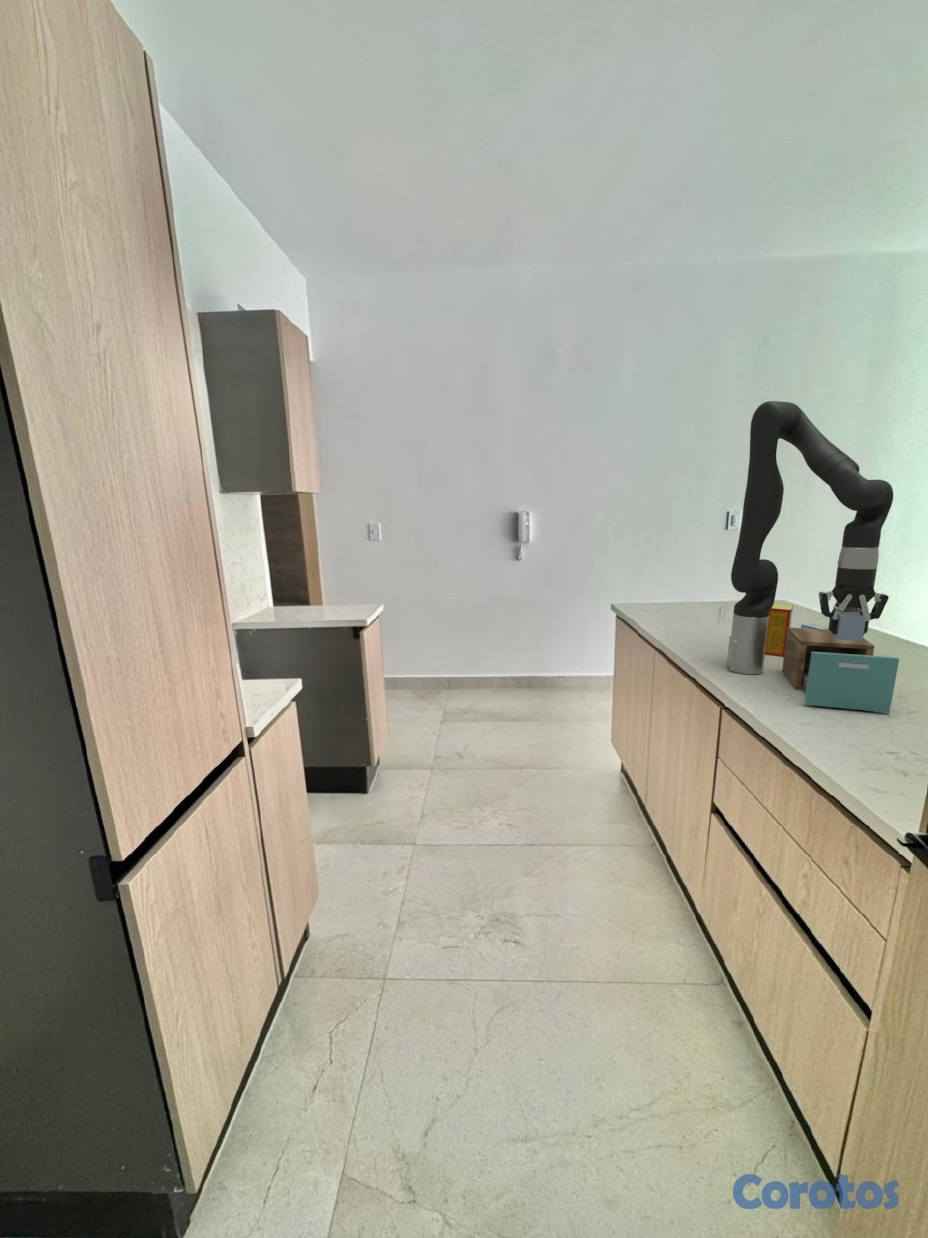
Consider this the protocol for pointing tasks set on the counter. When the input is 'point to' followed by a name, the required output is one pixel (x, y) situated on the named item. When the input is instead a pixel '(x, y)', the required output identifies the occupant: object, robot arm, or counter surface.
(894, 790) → the counter surface
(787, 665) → the cabinet
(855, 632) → the slate-blue block
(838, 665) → the drawer
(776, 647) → the baking soda box
